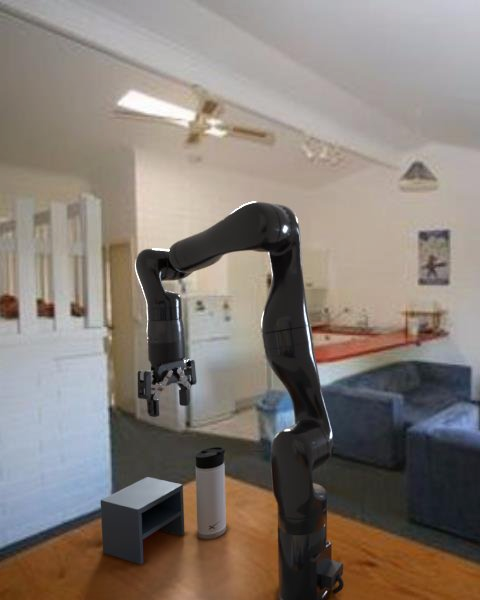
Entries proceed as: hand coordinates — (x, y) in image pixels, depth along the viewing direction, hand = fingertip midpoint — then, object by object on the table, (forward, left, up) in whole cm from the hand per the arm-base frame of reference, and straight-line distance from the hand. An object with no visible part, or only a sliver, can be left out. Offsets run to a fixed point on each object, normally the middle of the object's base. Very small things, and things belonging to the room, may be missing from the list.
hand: (169, 410), depth 107 cm
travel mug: (-6, -5, -30) cm, 31 cm away
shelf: (+5, +4, -30) cm, 31 cm away
